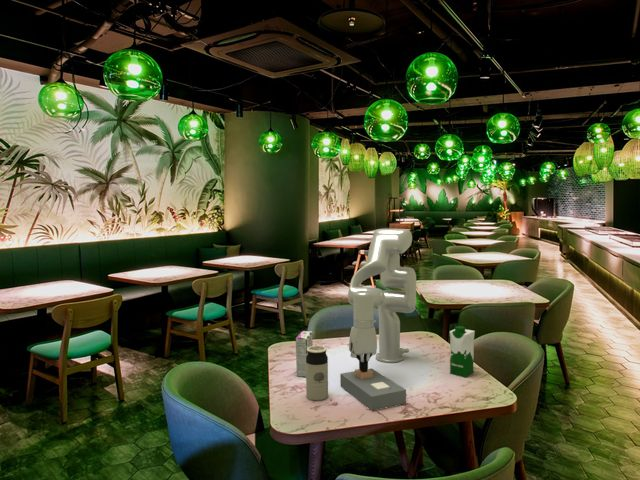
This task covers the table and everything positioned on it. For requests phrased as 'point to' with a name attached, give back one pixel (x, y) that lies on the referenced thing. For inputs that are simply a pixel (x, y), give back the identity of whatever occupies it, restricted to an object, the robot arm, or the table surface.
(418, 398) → the table surface
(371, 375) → the terracotta key
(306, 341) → the candy bar box
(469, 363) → the milk carton
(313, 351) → the travel mug
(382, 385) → the cream cube
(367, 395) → the gray socket board
